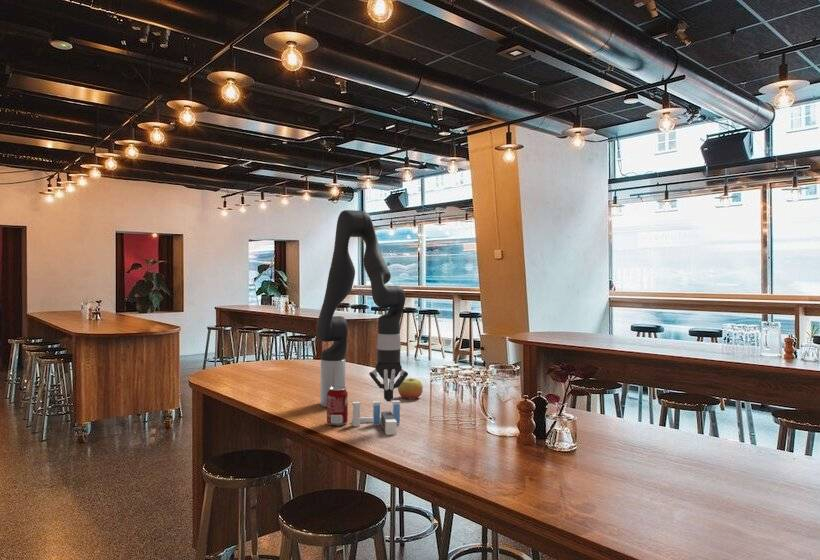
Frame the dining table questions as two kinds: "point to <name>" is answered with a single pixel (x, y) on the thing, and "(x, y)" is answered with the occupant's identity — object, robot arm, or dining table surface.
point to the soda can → (337, 406)
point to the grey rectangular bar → (389, 423)
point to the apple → (410, 388)
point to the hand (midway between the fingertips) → (388, 400)
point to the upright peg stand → (374, 413)
